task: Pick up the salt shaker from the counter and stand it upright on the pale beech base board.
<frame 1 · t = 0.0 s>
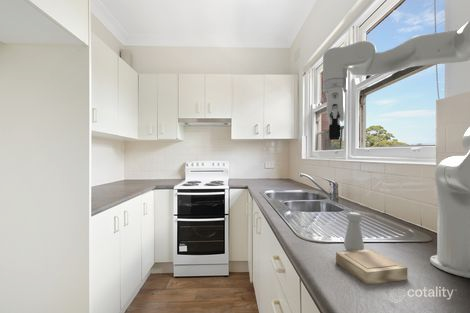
hand: (334, 138, 78), 37 cm above the countertop, tool pointing down, fingers open, 9 cm apart
base board: (369, 270, 64), on the countertop
salt shaker: (353, 253, 76), on the countertop
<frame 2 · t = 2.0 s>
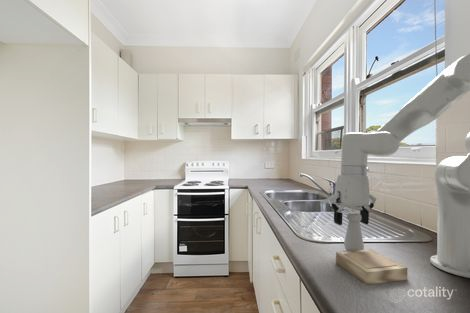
hand: (351, 223, 76), 9 cm above the countertop, tool pointing down, fingers open, 9 cm apart
nothing on the countertop moved.
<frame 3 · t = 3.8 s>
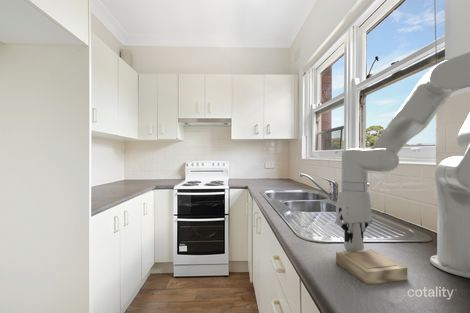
hand: (353, 243, 76), 3 cm above the countertop, tool pointing down, fingers closed on salt shaker, 3 cm apart
salt shaker: (353, 253, 76), on the countertop, touching gripper
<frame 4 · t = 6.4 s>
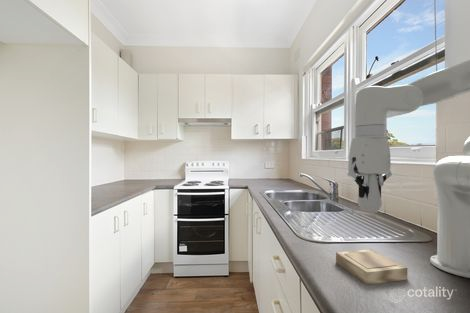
hand: (369, 199, 64), 20 cm above the countertop, tool pointing down, fingers closed on salt shaker, 3 cm apart
salt shaker: (369, 211, 64), point 16 cm above the countertop, touching gripper
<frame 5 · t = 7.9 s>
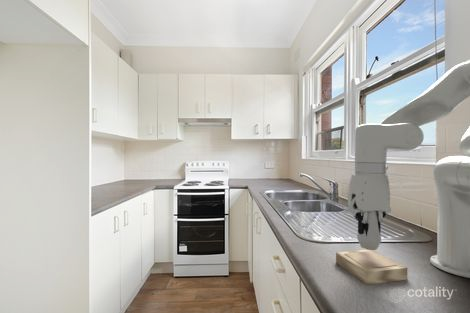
hand: (368, 235, 64), 10 cm above the countertop, tool pointing down, fingers closed on salt shaker, 3 cm apart
salt shaker: (368, 247, 64), point 6 cm above the countertop, touching gripper
when the fingers open (8 cm above the countertop, at t = 9.0 s): salt shaker drops 1 cm, resting on base board.
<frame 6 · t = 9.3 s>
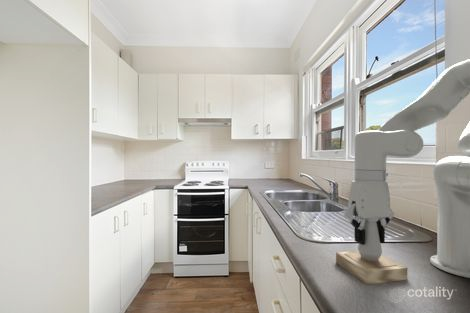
hand: (369, 241, 64), 8 cm above the countertop, tool pointing down, fingers open, 5 cm apart
salt shaker: (369, 259, 64), point 3 cm above the countertop, touching base board
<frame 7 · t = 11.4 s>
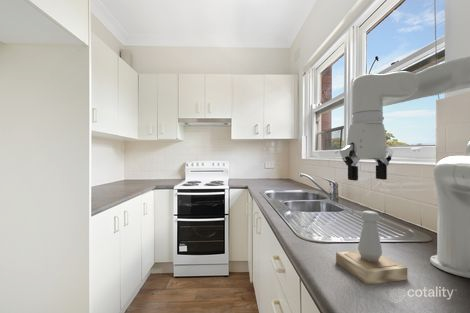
hand: (367, 179, 67), 25 cm above the countertop, tool pointing down, fingers open, 9 cm apart
nothing on the countertop moved.
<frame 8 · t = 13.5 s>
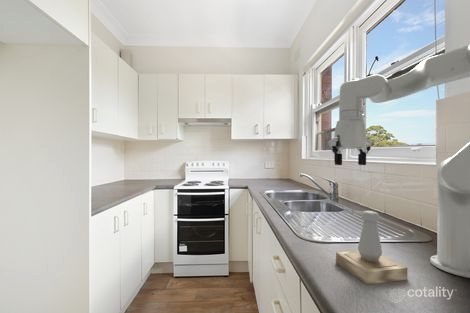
hand: (350, 164, 83), 28 cm above the countertop, tool pointing down, fingers open, 9 cm apart
nothing on the countertop moved.
at the end: salt shaker inside the target area on the base board (0.2 cm from its centre), point 3.0 cm above the base board's base; salt shaker tilted 0°; the gripper is holding nothing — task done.
